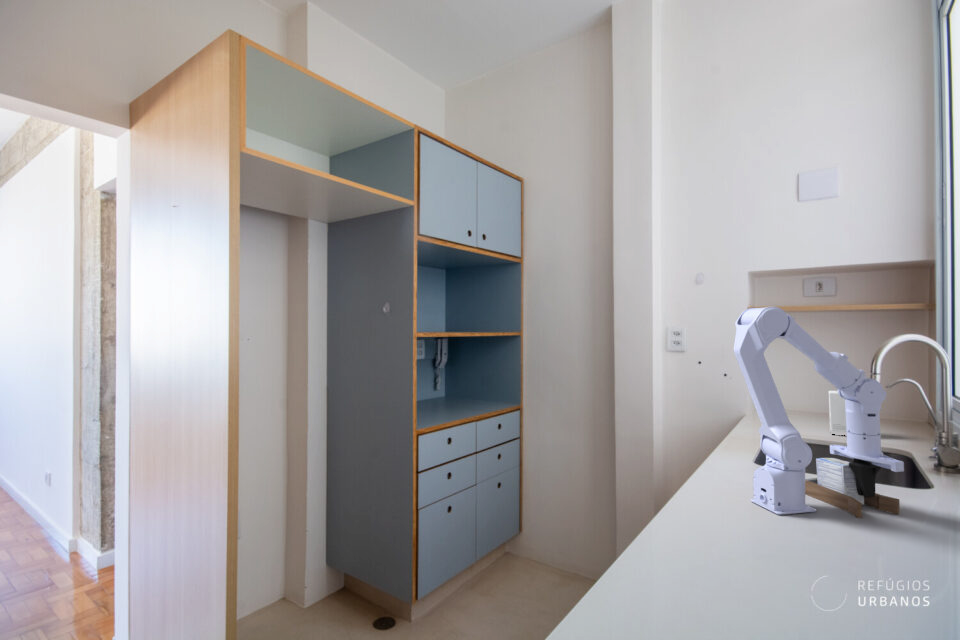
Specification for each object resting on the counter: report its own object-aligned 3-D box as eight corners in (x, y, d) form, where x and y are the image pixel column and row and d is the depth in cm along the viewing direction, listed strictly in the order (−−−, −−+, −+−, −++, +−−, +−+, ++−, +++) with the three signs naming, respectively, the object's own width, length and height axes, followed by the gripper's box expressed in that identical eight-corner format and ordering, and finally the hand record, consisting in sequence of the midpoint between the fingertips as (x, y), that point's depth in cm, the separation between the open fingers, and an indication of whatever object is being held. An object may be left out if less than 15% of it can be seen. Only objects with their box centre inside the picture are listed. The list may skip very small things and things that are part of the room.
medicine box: (865, 505, 101) (862, 464, 102) (845, 505, 101) (842, 464, 102) (835, 495, 109) (833, 457, 110) (817, 495, 109) (815, 457, 110)
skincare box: (857, 434, 169) (856, 391, 169) (860, 438, 163) (859, 393, 163) (828, 431, 173) (828, 389, 173) (830, 435, 168) (829, 391, 168)
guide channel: (858, 518, 96) (858, 503, 96) (795, 492, 111) (795, 479, 111) (901, 514, 98) (901, 499, 98) (834, 489, 113) (834, 476, 113)
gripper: (914, 438, 95) (918, 506, 94) (846, 424, 109) (849, 483, 109) (886, 441, 93) (889, 509, 93) (821, 426, 108) (823, 485, 107)
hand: (866, 495), depth 101 cm, fingers closed, pressing on medicine box
